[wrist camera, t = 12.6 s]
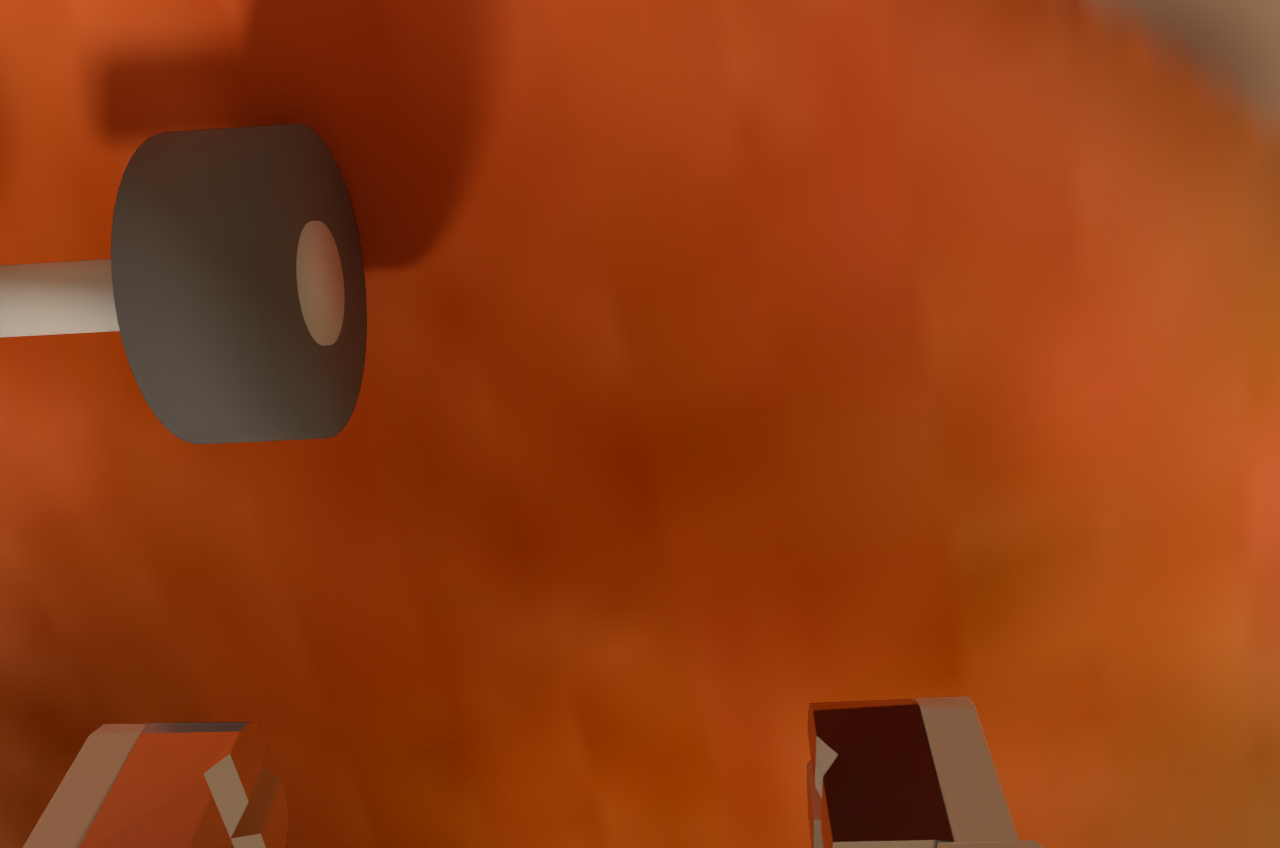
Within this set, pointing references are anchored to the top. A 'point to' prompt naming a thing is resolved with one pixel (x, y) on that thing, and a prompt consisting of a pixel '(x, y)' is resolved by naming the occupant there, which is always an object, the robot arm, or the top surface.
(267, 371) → the wheel
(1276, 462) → the top surface
